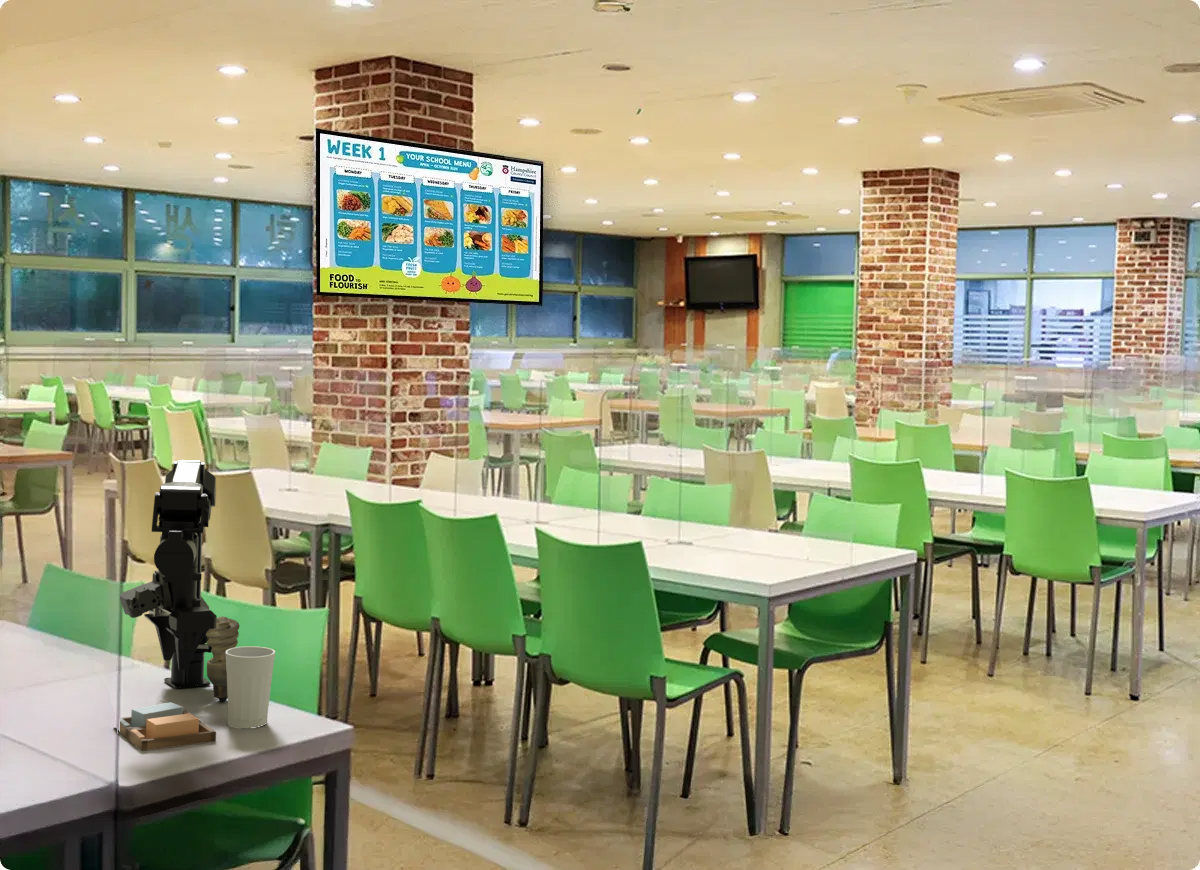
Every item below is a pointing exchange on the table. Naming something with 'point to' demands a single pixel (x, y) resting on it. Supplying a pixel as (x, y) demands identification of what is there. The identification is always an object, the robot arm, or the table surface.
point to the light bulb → (221, 654)
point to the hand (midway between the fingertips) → (174, 664)
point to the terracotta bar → (172, 726)
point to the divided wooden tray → (139, 735)
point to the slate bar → (154, 713)
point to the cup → (248, 685)
